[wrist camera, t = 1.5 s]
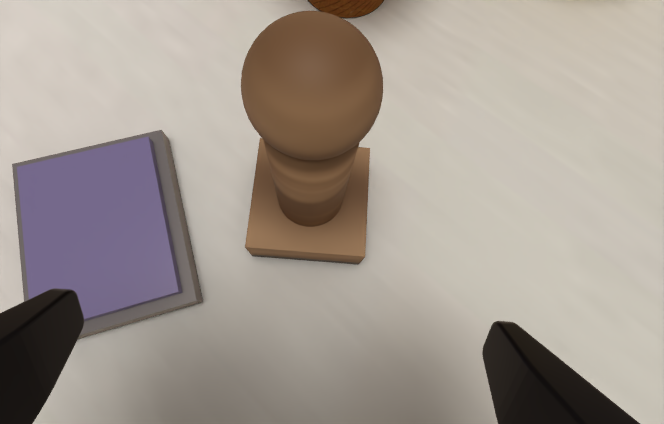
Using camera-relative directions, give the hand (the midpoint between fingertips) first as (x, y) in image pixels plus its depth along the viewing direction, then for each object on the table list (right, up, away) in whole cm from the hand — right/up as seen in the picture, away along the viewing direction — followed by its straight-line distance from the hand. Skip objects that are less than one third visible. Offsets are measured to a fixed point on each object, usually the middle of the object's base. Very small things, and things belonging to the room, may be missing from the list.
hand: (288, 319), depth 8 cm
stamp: (0, +2, +14) cm, 14 cm away
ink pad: (-11, +1, +13) cm, 17 cm away
